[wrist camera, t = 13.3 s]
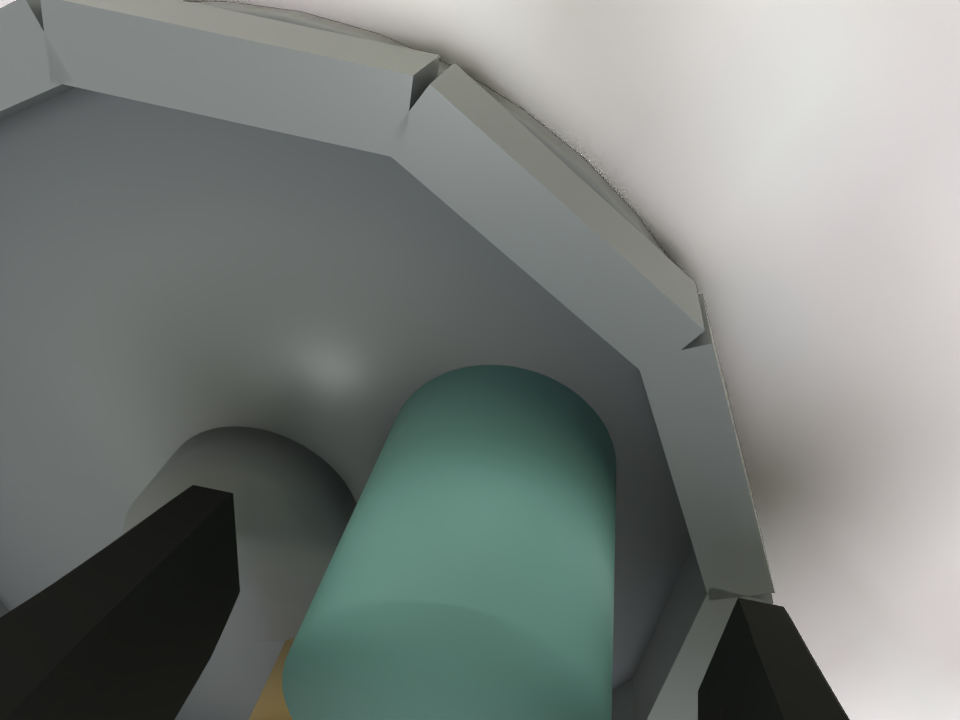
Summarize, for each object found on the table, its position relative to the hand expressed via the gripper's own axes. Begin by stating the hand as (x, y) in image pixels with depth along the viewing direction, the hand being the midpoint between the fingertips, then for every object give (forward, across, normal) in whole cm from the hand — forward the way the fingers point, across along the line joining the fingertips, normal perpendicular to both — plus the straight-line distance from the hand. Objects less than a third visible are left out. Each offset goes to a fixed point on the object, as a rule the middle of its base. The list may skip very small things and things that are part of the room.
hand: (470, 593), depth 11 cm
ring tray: (+4, +4, +2) cm, 6 cm away
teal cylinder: (+3, 0, 0) cm, 3 cm away
